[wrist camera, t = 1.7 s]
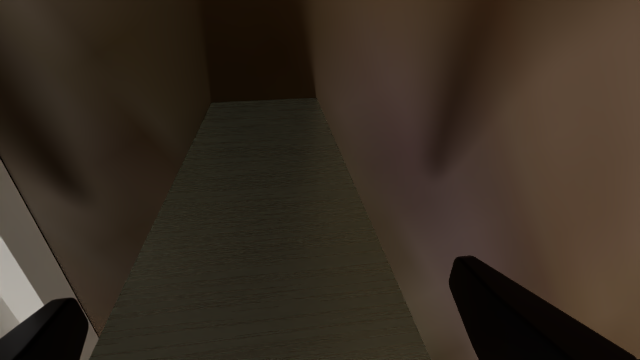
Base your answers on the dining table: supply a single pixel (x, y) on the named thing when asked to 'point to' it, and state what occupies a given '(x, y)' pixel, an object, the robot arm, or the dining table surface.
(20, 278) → the rack
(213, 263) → the metal block
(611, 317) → the dining table surface
